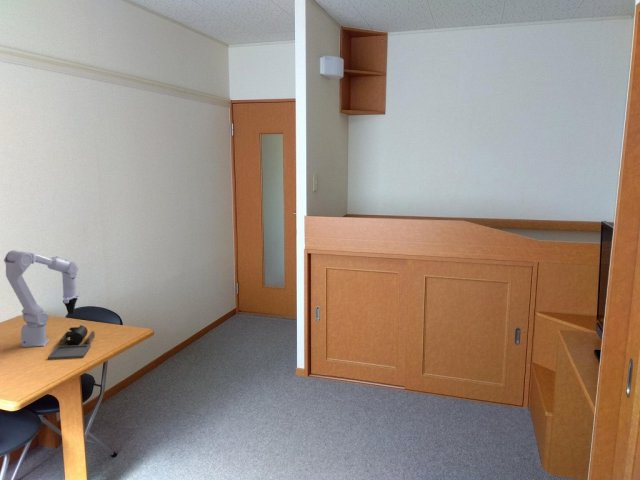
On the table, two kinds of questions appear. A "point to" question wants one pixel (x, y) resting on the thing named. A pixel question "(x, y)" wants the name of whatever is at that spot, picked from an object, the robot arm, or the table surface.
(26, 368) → the table surface
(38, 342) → the robot arm
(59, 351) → the tray
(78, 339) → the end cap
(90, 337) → the channel walls
